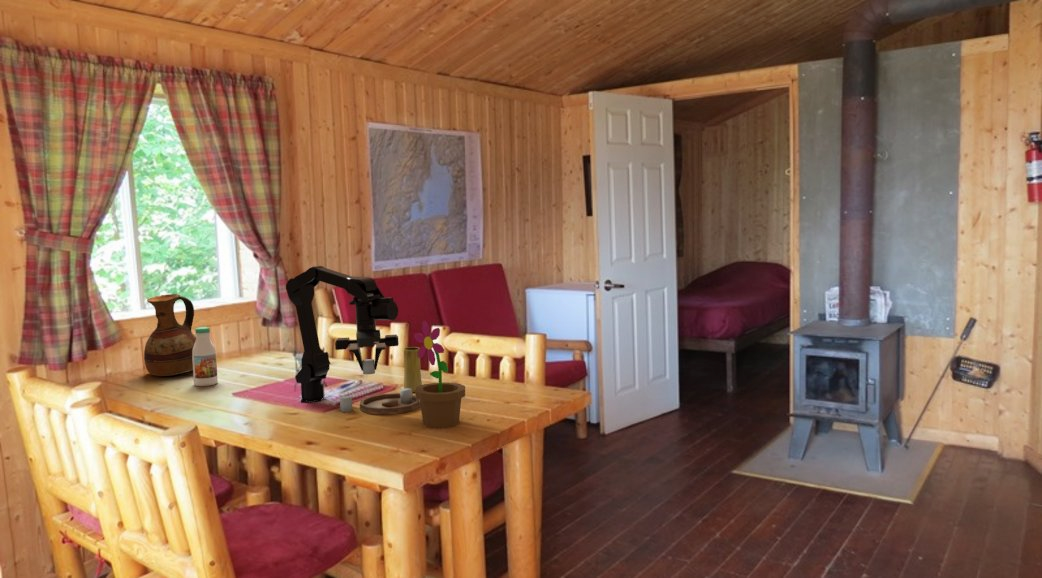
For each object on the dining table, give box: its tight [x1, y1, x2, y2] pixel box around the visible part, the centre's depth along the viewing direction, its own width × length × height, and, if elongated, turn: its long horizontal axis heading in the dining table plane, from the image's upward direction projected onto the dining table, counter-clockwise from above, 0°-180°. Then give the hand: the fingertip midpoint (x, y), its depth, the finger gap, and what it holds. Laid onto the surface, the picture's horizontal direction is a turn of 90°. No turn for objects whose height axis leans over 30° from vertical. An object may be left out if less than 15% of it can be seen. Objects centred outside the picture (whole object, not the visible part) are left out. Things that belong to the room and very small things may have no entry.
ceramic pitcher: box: [143, 293, 197, 377], centre depth 286 cm, size 20×20×30 cm
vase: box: [403, 346, 423, 394], centre depth 256 cm, size 6×6×14 cm
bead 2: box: [362, 358, 376, 376], centre depth 235 cm, size 4×4×4 cm
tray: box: [359, 392, 421, 416], centre depth 237 cm, size 18×18×2 cm
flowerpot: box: [413, 320, 466, 430], centre depth 217 cm, size 14×14×30 cm
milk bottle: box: [192, 326, 219, 387], centre depth 269 cm, size 8×8×20 cm
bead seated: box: [399, 387, 413, 404], centre depth 239 cm, size 4×4×4 cm
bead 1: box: [339, 395, 354, 413], centre depth 233 cm, size 4×4×4 cm
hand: (368, 369), depth 235 cm, fingers closed on bead 2, 4 cm apart
